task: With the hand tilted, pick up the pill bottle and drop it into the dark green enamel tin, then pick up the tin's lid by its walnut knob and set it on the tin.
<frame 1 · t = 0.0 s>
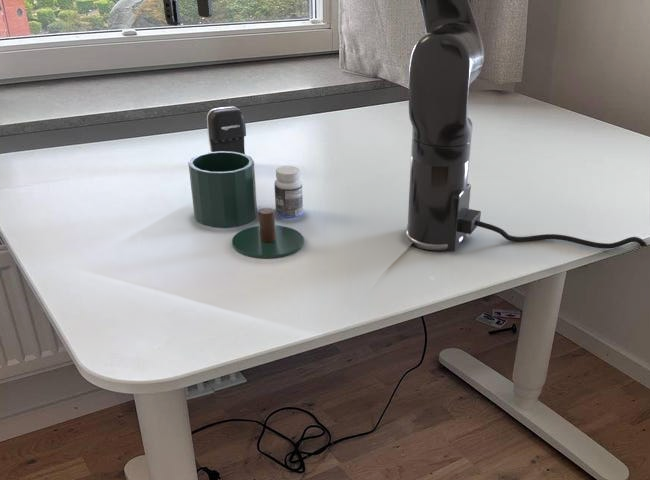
hand: (190, 20, 127), 29 cm above the table, tool pointing down, fingers open, 8 cm apart
pill bottle: (289, 216, 136), on the table
lid: (268, 242, 125), point 1 cm above the table
battery charger: (230, 168, 154), on the table
tin: (226, 218, 134), on the table
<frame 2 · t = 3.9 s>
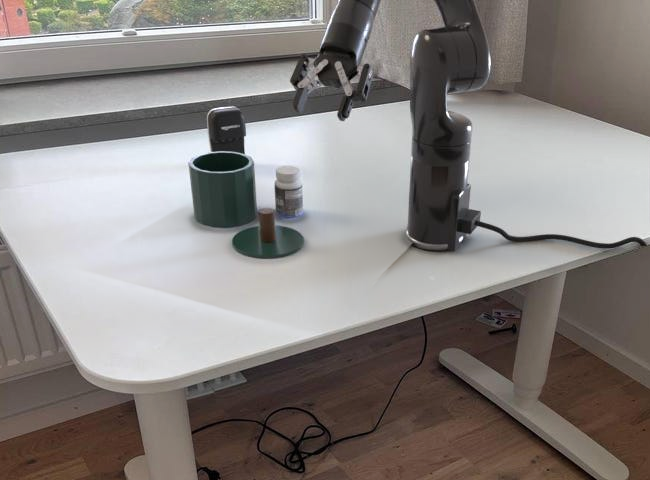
hand: (318, 114, 136), 15 cm above the table, tool tilted 45°, fingers open, 8 cm apart
nothing on the table moved.
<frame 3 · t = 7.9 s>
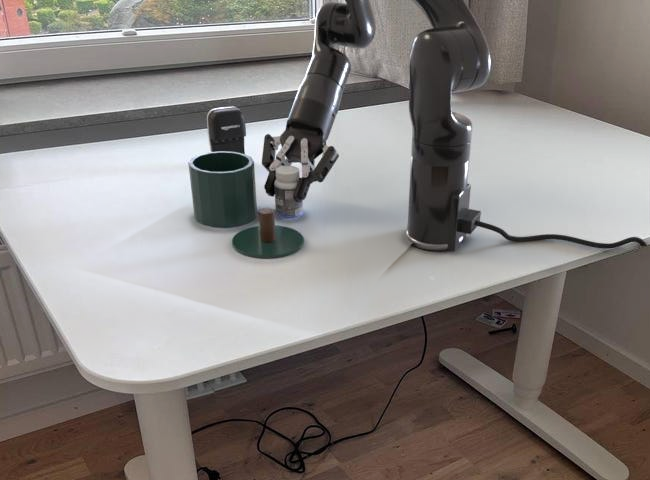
hand: (283, 197, 132), 4 cm above the table, tool tilted 45°, fingers closed on pill bottle, 4 cm apart
pill bottle: (289, 216, 136), on the table, touching gripper
everything else where it was.
when the fingers open (12 cm above the table, at t = 13.9 s): pill bottle drops 8 cm, resting on tin.
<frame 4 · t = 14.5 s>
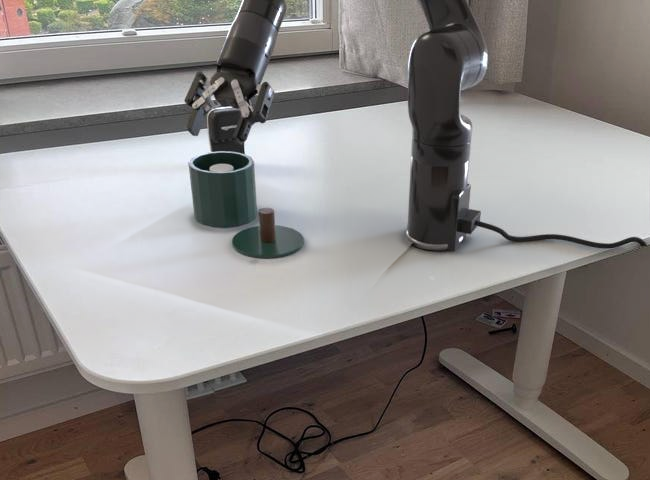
hand: (214, 137, 124), 14 cm above the table, tool tilted 45°, fingers open, 8 cm apart
pill bottle: (227, 215, 134), resting on tin
everything else where it was.
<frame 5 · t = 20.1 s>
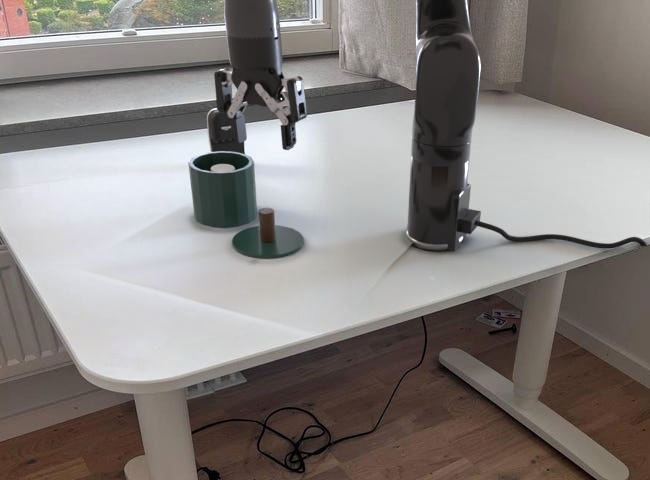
hand: (264, 145, 118), 16 cm above the table, tool pointing down, fingers open, 8 cm apart
nothing on the table moved.
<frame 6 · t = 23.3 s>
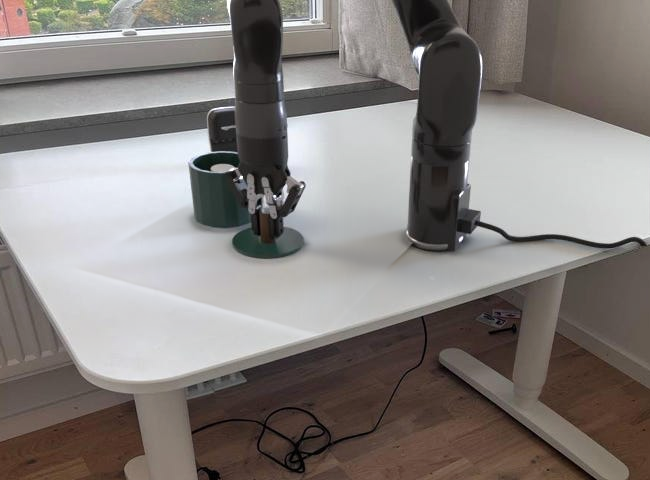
hand: (268, 235, 124), 2 cm above the table, tool pointing down, fingers closed on lid, 2 cm apart
lid: (268, 242, 125), point 1 cm above the table, touching gripper
everything else where it was.
when the fingers open (11 cm above the table, at t = 28.8 s): lid stays where it is, resting on tin.
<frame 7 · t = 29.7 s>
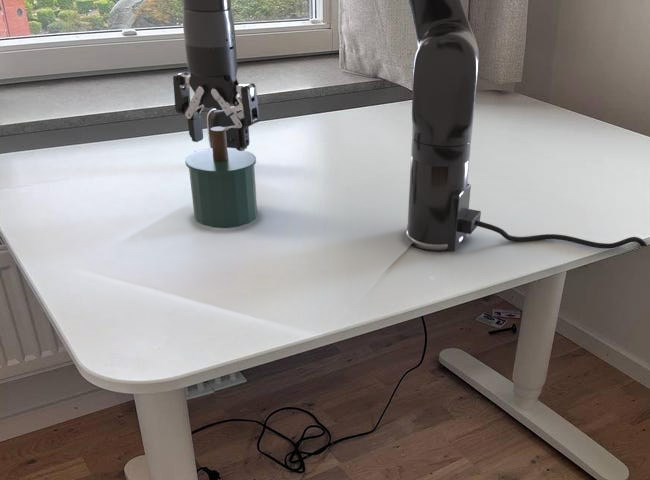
hand: (219, 145, 126), 13 cm above the table, tool pointing down, fingers open, 8 cm apart
lid: (221, 161, 128), point 10 cm above the table, touching tin
everything else where it was.
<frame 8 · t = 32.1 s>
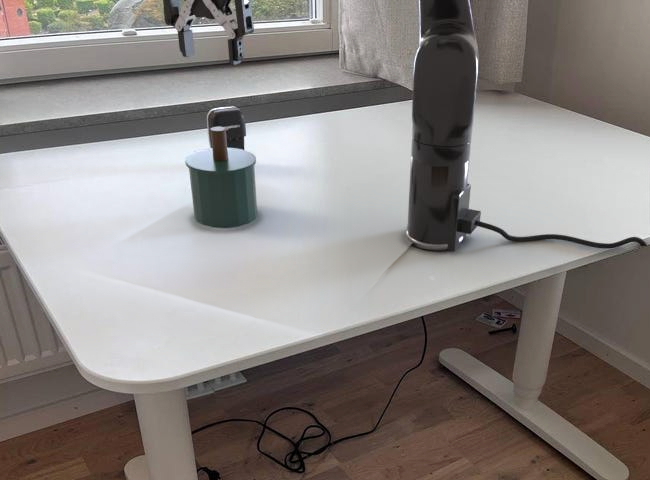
hand: (212, 60, 119), 26 cm above the table, tool pointing down, fingers open, 8 cm apart
nothing on the table moved.
at the end: pill bottle inside the target area in the tin (0.3 cm from its centre), point 0.3 cm above the tin's base; lid 0.0 cm off-centre on the tin, point 10.0 cm above the tin's base; lid tilted 0° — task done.
